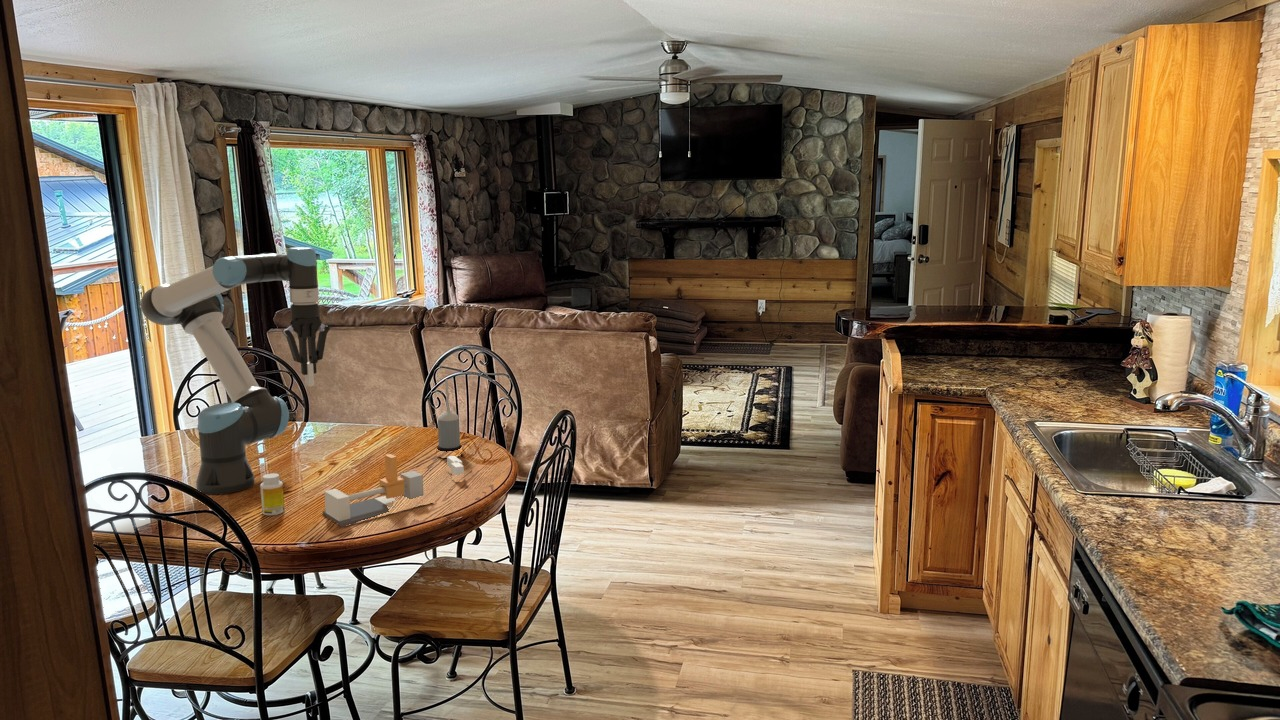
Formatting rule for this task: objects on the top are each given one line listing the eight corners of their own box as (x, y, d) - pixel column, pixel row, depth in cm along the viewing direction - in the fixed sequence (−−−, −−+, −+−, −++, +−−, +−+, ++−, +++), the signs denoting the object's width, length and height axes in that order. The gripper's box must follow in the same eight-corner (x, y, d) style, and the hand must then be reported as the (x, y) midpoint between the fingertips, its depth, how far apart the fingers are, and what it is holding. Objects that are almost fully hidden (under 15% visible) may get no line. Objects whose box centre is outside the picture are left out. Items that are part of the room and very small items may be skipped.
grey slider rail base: (342, 527, 221) (341, 499, 219) (322, 514, 229) (321, 487, 228) (433, 503, 238) (432, 477, 237) (411, 492, 247) (410, 467, 245)
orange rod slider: (387, 498, 233) (385, 459, 231) (380, 495, 236) (378, 456, 234) (404, 494, 236) (402, 455, 234) (397, 490, 239) (395, 452, 237)
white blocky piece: (444, 470, 268) (444, 452, 267) (480, 472, 267) (479, 454, 266) (426, 486, 254) (426, 467, 253) (464, 488, 252) (463, 469, 251)
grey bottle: (440, 450, 286) (437, 376, 282) (465, 451, 286) (462, 377, 281) (433, 458, 278) (430, 382, 274) (459, 458, 278) (456, 382, 273)
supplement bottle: (288, 512, 230) (286, 475, 228) (267, 518, 226) (265, 480, 224) (279, 507, 234) (276, 470, 232) (258, 512, 230) (255, 475, 228)
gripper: (286, 306, 236) (292, 390, 240) (333, 302, 245) (337, 384, 249) (276, 303, 241) (281, 386, 246) (321, 300, 250) (326, 380, 255)
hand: (309, 385), depth 247 cm, fingers closed
